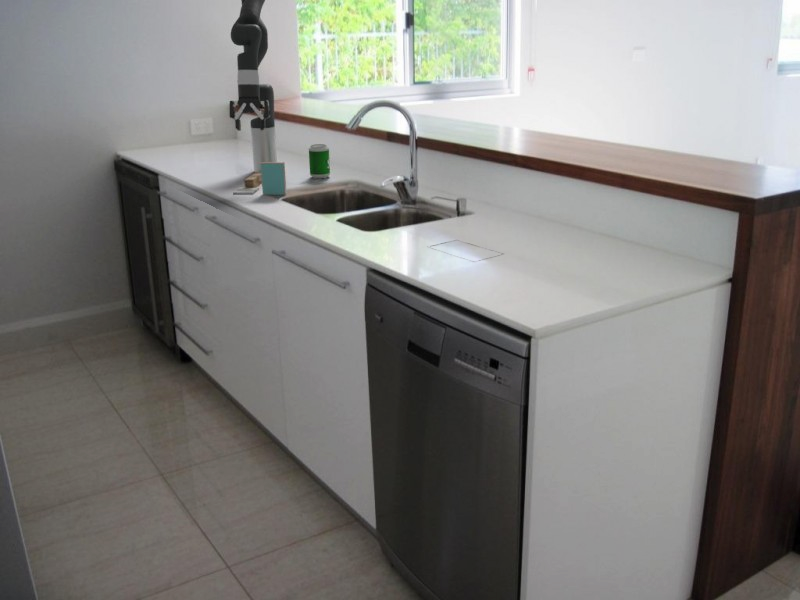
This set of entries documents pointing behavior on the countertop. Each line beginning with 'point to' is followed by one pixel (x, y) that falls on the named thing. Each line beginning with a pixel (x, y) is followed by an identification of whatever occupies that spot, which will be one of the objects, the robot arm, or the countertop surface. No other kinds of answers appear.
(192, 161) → the countertop surface
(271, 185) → the tile
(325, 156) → the soda can
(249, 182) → the turner
